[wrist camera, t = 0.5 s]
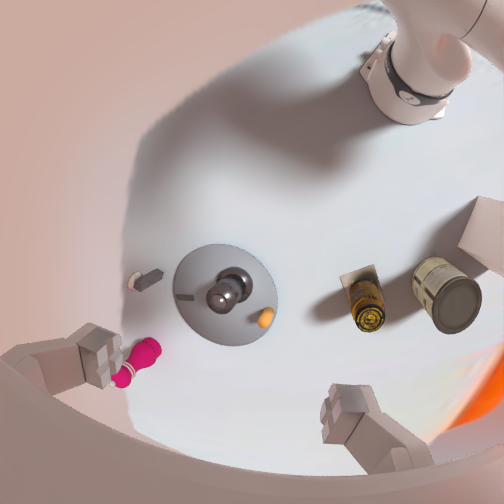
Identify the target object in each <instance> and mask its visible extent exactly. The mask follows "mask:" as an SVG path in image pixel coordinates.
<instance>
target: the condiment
mask: <svg viewBox="0 0 504 504" xmlns="http://www.w3.org/2000/svg"><path fill="white" fill-rule="evenodd" d="M340 278H341V281H342V284H343V287H344V290H345V293H346V295H347V298H348V301H349V304H350V307H351V311H352V316H353V319H354V321H355V323H356V325H357V327H358V328H359V329H360V330H361V331H363V332H373V331H376V330H378V329H379V328H380V327H381V326H382V325H383V323H384V320H385V312H384V311H385V309H384V303H383V302H384V298H383V294H382V291H381V287H380V284H379V280H378V277H377V274H376V270H375V267H374V265H371V266H368V267H365V268H362V269H360V270H357V271H354V272H352V273H349V274H346V275H344V276H341V277H340ZM353 281H354V282H353ZM352 283H353V284H352Z"/></svg>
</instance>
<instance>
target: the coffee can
mask: <svg viewBox="0 0 504 504" xmlns="http://www.w3.org/2000/svg"><path fill="white" fill-rule="evenodd" d="M412 290H413V293H414V295H415V296H416V298H417V299H418V300H419V301H420V303H421V304H422V305H423V307H424V308H425V310H426V311H427V313H428V314H429V316H430V317H431V318H432V320H433V322H434V324H435V326H436V328H437V329H438V330H439V331H441V332H442V333H445V334H456V333H459V332H461V331H463V330H465V329H466V328H467V327H469V326H470V325H471V324H472V322H473V321H474V320H475V318H476V317H477V315H478V313H479V310H480V307H481V303H482V293H481V289H480V287H479V285H478V283H477V282H476V281H475V280H473V279H472V278H470V277H468V276H467V275H465V274H464V273H463V272H461V271H460V270H458V269H457V268H456V267H454V266H453V265H451V264H450V263H449V262H447V261H446V260H445V259H443V258H441V257H430V258H427V259H425V260H424V261H422V262H421V263H420V264H419V265H418V267H417V268H416V270H415V272H414V274H413V277H412Z"/></svg>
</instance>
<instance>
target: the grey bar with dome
mask: <svg viewBox="0 0 504 504" xmlns="http://www.w3.org/2000/svg"><path fill="white" fill-rule="evenodd" d="M163 273H164V272H162V271H160V270H159V269H155V270H153V271H151V272H150V273H148V274H146V275H144V276H143V275H142V274H141V273H139V272H138V271H137V272H135V273H133V274H132V275H131V277H130V278H129V280H128V283H127V287H128V288H129V289H130V290H132V291H134V290H138V291H139V292H141V291H143V290H144V289H146V288H148V287H149V286H151V285H153V284H154V283H156V282H158V281H159V280H161V279H162V276H163Z"/></svg>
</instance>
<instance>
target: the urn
mask: <svg viewBox="0 0 504 504" xmlns="http://www.w3.org/2000/svg"><path fill="white" fill-rule="evenodd" d="M252 291H253V281H252V278H251V276H250V275H249V274H248V273H247V272H246V271H245V270H244V269H242V268H239V267H228V268H226V269H224V270H223V271H222V272H221V273H220V274H219V275H218V277H217V280H216V284H215V285H214V286H213V287H212V288H211V289H210V290H209V291H208V292H207V294H206V302H207V305H208V307H209V308H210V309H211V310H212V311H213V312H215V313H217V314H227V313H229V312H230V311H231V310H232V309H233V308H234V306H235V305H236V304H237V303H242V302H244V301H245V300H247V299H248V297H249V296H250V295H251V293H252Z"/></svg>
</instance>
